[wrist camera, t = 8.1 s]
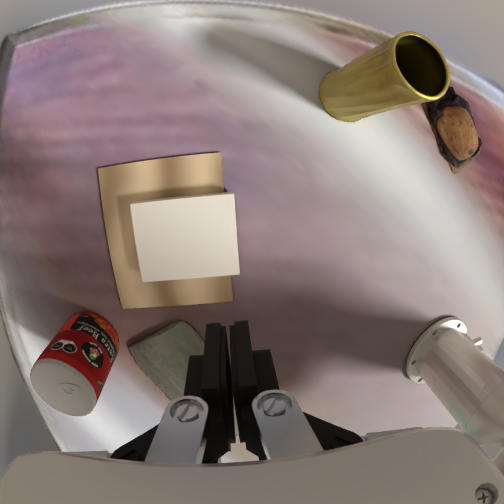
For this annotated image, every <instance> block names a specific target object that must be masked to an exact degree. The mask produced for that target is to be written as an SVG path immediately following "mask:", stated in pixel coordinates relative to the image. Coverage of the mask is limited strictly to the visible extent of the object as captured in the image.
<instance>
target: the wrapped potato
mask: <svg viewBox="0 0 504 504" xmlns="http://www.w3.org/2000/svg"><path fill="white" fill-rule="evenodd" d="M425 112H426V115H427V118H428V120H429V122H430V125H431V127H432V130H433V132H434V134H435V136H436V138H437V141H438V143H439V144H440V146H439V147H440V148H441V151H442V153H443V156H444V157H445V158H446V160H447V162H448V163H449V165H450V167H451V169H452V172H453V173H454V174H456V173H458V172H459V171H460V170H461V169H462V168H464V167H465V166H466V165H467V164H468V163H469V162H471V161H472V160H473V159H474V158H475V157H476V156H477V155H478V154H480V152H481V146H482V142H481V139H480V138H479V137H478V135H477V131H476V127H475V123H474V120H473V117H472V115H471V111H470V106H469V104H468V102H467V101H465V100H464V99H463V98H462V97H461V96H459V95H457V94H456V92H455V91H454V89H453V87H450V88H448V89H447V91H446V93H445V94H444V95H443V96H442V97H441V98H439V99H437V100H435V101H430V102H427V103H426V109H425Z"/></svg>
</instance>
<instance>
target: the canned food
mask: <svg viewBox="0 0 504 504" xmlns="http://www.w3.org/2000/svg"><path fill="white" fill-rule="evenodd" d="M118 350H119V339H118V335H117V333H116V330H115V329H114V327H113V326H112V325H111V324H110V323H109V322H108V321H107V320H106V319H105V318H103V317H101V316H100V315H97V314H95V313H90V312H82V313H78V314H76V315H74V316H72V317H71V318H69V319H68V321H67V322H66V323H65V324H64V325H63V327H62V328H61V329H60V330H59V332H58V333H57V334H56V335H55V337H54V338H53V339H52V341H51V342H50V343H49V344H48V346H47V347H46V348H45V350H44V351H43V352H42V354H41V355H40V356H39V358H38V359H37V361H36V362H35V364H34V365H33V368H32V369H31V373H30V377H31V382H32V385H33V387H34V389H35V390H36V392H37V393H38V395H39V396H40V397H41V398H42V399H43V400H44V401H45V402H46V403H47V404H49V405H50V406H51V407H53V408H54V409H56V410H58V411H60V412H62V413H65V414H68V415H72V416H85V415H87V414H89V413H91V412H92V411H93V409H94V407H95V405H96V403H97V401H98V398H99V396H100V394H101V391H102V389H103V386H104V384H105V381H106V379H107V377H108V374H109V372H110V370H111V367H112V365H113V363H114V360H115V358H116V356H117V353H118Z"/></svg>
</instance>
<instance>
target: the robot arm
mask: <svg viewBox="0 0 504 504" xmlns="http://www.w3.org/2000/svg"><path fill="white" fill-rule="evenodd" d="M481 343H482V339H481V338H480V337H478V338H476V339H473V340H472V339H471V338H470V337H469V336H467V329H466V326H465V324H464V323H463V322H462V321H461V320H459V319H458V318H455V317H448V318H444V319H442V320H440V321H438V322H436V323H435V324H433V325H432V326H430V327H429V328H428V329H427V330H426V331H425V332H424V333H423V334H422V335H421V336H420V337H419V339H418V340H417V341H416V343H415V344H414V346H413V347H412V349H411V351H410V353H409V356H408V359H407V362H406V372H407V375H408V377H409V378H410V379H411V380H412V381H413V382H414V383H417V384H424V383H426V384H427V385H428V386H429V387H430V389H431V390H432V391H433V392H434V394H435V395H436V396H437V397H438V399H439V400H440V401H441V402H442V404H443V405H444V406H445V407H446V409H447V410H448V411H449V413H450V414H451V415H452V416H453V418H454V419H455V420H456V422H457V423H458V424H459V425H460V426H461V428H462V429H463V431H462V430H460V429H456V428H451V427H427V428H422V427H414V428H407V429H400V430H392V431H383V432H373V433H366V436H359V435H357V434H355V433H354V432H351V431H349V430H346V429H343V428H341V427H338V426H336V425H333V424H331V423H328V422H326V421H323V420H321V419H319V418H316V417H314V416H311V415H309V414H307V413H305V412H303V411H302V410H301V408H300V406H299V404H298V402H297V400H296V399H295V397H294V396H293V395H292V394H290V393H289V392H286V391H283V390H279V386H278V382H277V377H276V373H275V369H274V365H273V360H272V356H271V352H270V349H267V350H257V351H252V348H251V341H250V334H249V327H248V321H236V322H235V325H230V353H231V366H230V358H229V350H228V342H227V334H226V326H221V325H220V323H210V324H207V325H206V335H205V345H204V355H190V357H189V362H188V369H187V375H186V382H185V389H184V396H182V397H178V398H176V399H174V400H172V401H171V402H170V403H169V404H168V405H167V407H166V409H165V411H164V414H163V416H162V419H161V421H160V423H159V424H158V425H157V426H155V427H153V428H152V429H150V430H148V431H147V432H145V433H143V434H142V435H140V436H138V437H137V438H135V439H133V440H132V441H130V442H128V443H126V444H125V445H123V446H121V447H119V448H118V449H117V450H115V451H114V452H113V453H109V452H108V451H91V452H57V451H41V452H31V453H26V454H23V455H20V456H18V457H16V458H15V459H14V460H13V461H12V462H11V463H10V464H9V465H8V466H7V468H6V469H5V471H4V473H3V474H2V476H1V478H0V504H504V371H503V370H502V369H501V368H500V367H499V366H497V365H496V364H495V363H494V362H493V361H492V360H491V359H490V358H489V357H488V356H486V355H485V354H484V353H483V350H482V347H481V346H478V345H480V344H481ZM476 346H477V347H476ZM233 399H234V402H233ZM234 405H235V412H236V419H237V425H238V432H239V438H240V443H241V442H246V449H247V450H248V451H250V452H252V453H253V454H255V455H257V460H258V461H248V462H234V463H221V456H223V455H224V454H225V453H226V452H228V451H231V447H230V443H236V438H235V421H234ZM480 445H501V446H502V449H501V451H500V452H499V453H498V454H497V455H496V456H495V458H494V459H493V460H492V459H491V458H490V457H489V455H488V454H487V453H486V452H485V450H484V449H483V448H482V447H481V446H480Z"/></svg>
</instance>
